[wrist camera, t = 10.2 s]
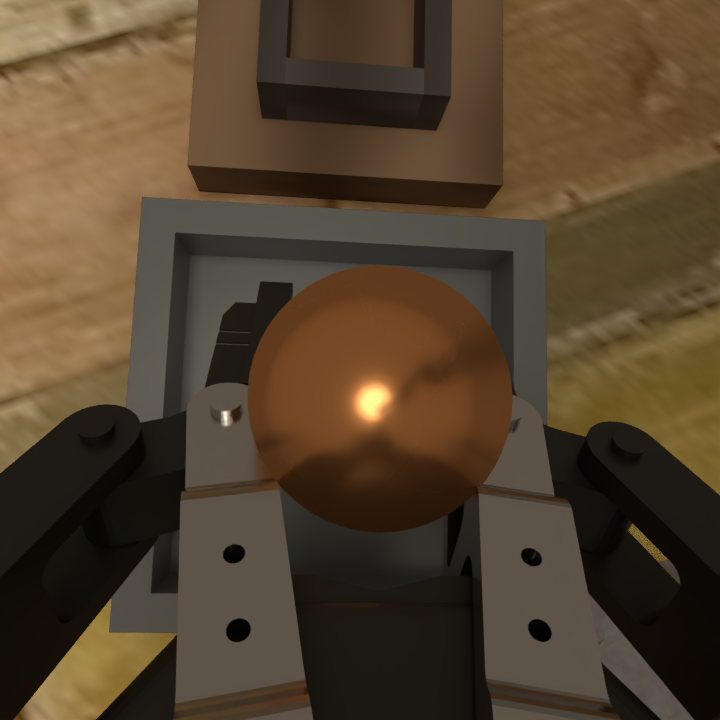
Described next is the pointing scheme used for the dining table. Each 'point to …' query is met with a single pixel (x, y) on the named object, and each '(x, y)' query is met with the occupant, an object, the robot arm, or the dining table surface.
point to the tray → (302, 268)
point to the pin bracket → (349, 100)
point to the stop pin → (379, 399)
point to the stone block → (635, 663)
